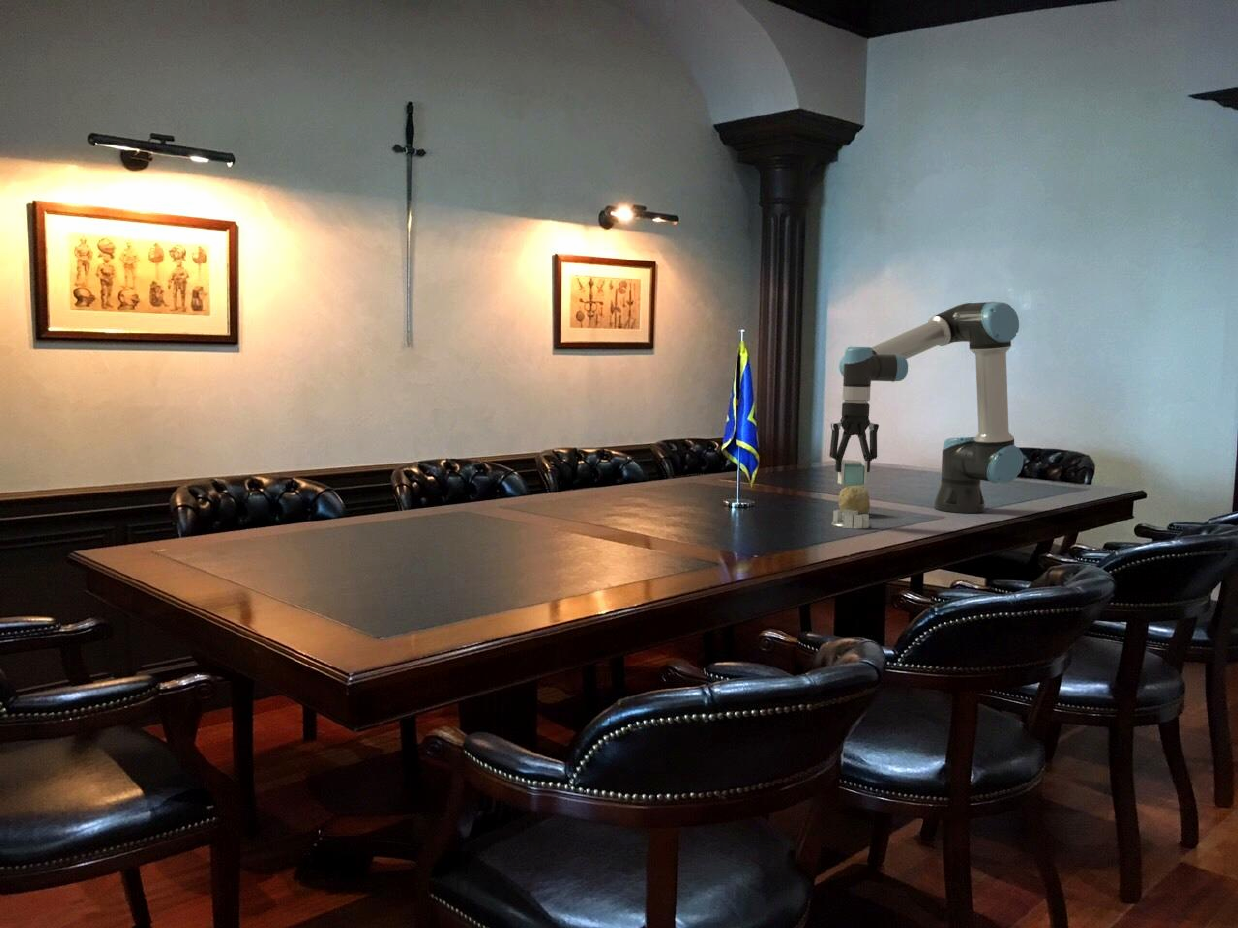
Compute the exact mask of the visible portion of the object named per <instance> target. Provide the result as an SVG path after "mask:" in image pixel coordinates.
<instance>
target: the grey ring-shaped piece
mask: <svg viewBox="0 0 1238 928" xmlns="http://www.w3.org/2000/svg"><path fill="white" fill-rule="evenodd" d="M832 514H833V515H832V521H831V525H832V526H833V527H836V528H843V529H853V530H854V529H858V530H859V529H867V528H870V523H869V521H870V515H869V514H862V515H858V510H841V509H835V510H833V512H832Z"/></svg>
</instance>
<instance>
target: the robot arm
mask: <svg viewBox="0 0 1238 928" xmlns="http://www.w3.org/2000/svg"><path fill="white" fill-rule="evenodd" d="M1017 313H1018V312H1017V311H1016V310H1015V309H1014V308H1013V307H1012V306H1011V305H1010V304H1008V303H1006V302H1001V301H987V302H967V303H962V304H959V305H956V306H954V307H951V308H948V309H946V310H945V311H942V312H939V313H938V314H936V315H933V316H931V317H930V318H929V319H928V322H925V323H924V324H923V323H922V324H921V325H919V326H916V327H915V328H912V329H910V330H907V331H905V332H903V333H901V334H898V335H897V336H894V337H892V338H890V339H889V338H888V339H887V340H886V341H883V342H881V343H879V344H876V345H874V346H872V347H869V346H848V347H846V348H845V352H844V355H843V357H841V359H840V361H839V365H838V368H839V372H840V374H841V376H842V377H843V385H842V400H843V402H842V404H841V418H840V421H838V422H831V423H830V428H831V435H830V436H831V437H830V444H829V446H830V447H829V454H828V457H829V458H830V459H834V461H835V467H834V468H835V469H834V470H835V472H836V473H837V484H840V485H842V484H844V469H845V463H846V461H845V460H843V459H844V455H845V454H846V451H847V448H848V444H849V442H850V439H851V438H852V436H855V435H856V436H857V438H858V441H859V446H860V448H861V449H860V450H861V452H862V457H863V460H860V463H862V465H863V466H864V470H863V485H867V480H868V479H867V477H868V476H867V474H868V473H870V471H871V462H872V461H873V460H876V459H877V458H878V431H879V427H880V424H878V423H873V422H871V421H870V419H869V417H870V408H871V406H870V403H869V402H870V401H871V386H872V382H876V381H877V382H892V383H895V382H901V381H903V380H905V379H906V377H907V376H908V373H909V363H908V362H909V361H908V359H911V358H912V357H914V356H917V355H919V354H921V353H923V352H926V351H928V350H930V349H932V348H934V347H937V346H939V347H945V346H948V345H949V344H953V343H961V342H965V343H966V342H969V350H970V351H971V352H972V353H973V354H974V357H975V380H976V381H975V382H976V385H975V386H976V405H977V407H976V408H977V409H976V410H977V429H978V430H977V431H978V432H977V434H976V435H975V436H967V437H963V436H962V437H949V438H946V439H945V440H944V443H943V448H942V458H941V459H942V461H941V463H942V464H941V485H940V487H939V490H938V492H937V495H936V497H935V499H934V504H933V505H934V507H933V508H934V509H935V510H937V511H942V512H948V513H961V514H976V513H977V514H978V513H980V514H981V513H983V512H985V507H986V505H985V504H986V503H985V499H984V497H983V493H982V490H981V481H983V482H990V483H992V484H1007V483H1008V484H1009V483H1011V482H1012V481H1014V480H1015V479H1016V478H1017V477H1018V475H1019V474H1021V471H1022V470H1023V466H1024V454H1023V452H1022V451H1021V449H1020V448H1019V447H1018V446H1016V445H1015V436H1014V435H1012V434H1011V433H1010V431H1009V408H1008V407H1009V406H1008V404H1009V403H1008V375H1007V352H1008V351H1009V350H1010V348H1011V347H1012V341H1013V340H1014V339H1015V338H1016V337H1017V333H1019V329H1020V320H1019V316H1018V314H1017ZM841 427H842V430H843V433H842V436H841V439H840V443H839V438H840V430H841ZM867 429H868V430H869V444H868V441H867V433H866V430H867ZM838 445H839V446H838Z"/></svg>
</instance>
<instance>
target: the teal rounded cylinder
mask: <svg viewBox="0 0 1238 928" xmlns="http://www.w3.org/2000/svg"><path fill="white" fill-rule="evenodd" d="M863 470H864V466H863V465H862V463H861V462H854V461H853V462H845V469H844V484H841V485H842V486H847V487H848V486H849V487H850V486H861V485H863V486H864V484H863Z"/></svg>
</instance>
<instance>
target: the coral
mask: <svg viewBox="0 0 1238 928" xmlns="http://www.w3.org/2000/svg"><path fill="white" fill-rule="evenodd" d="M870 504H871V502H870V495H869V492H868V489H866V487H865V486H864V484H863V485H861V486H848V485H847V486H846V487H844V488H843V489H841V490H840V492H839V495H838V506H839V510H858V515H862V514H866V515H868V513H869V511H870Z"/></svg>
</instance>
